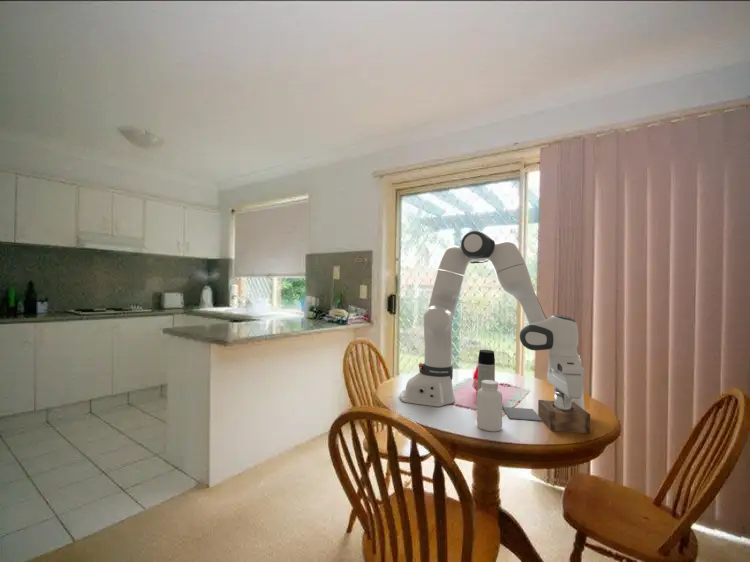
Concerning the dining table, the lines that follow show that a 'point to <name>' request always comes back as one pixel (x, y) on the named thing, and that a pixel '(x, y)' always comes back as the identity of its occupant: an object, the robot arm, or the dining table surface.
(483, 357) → the spray can
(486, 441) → the dining table surface
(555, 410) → the socket block
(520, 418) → the mat
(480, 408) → the pill bottle
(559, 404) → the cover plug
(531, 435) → the dining table surface
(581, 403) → the cosmetic bottle
